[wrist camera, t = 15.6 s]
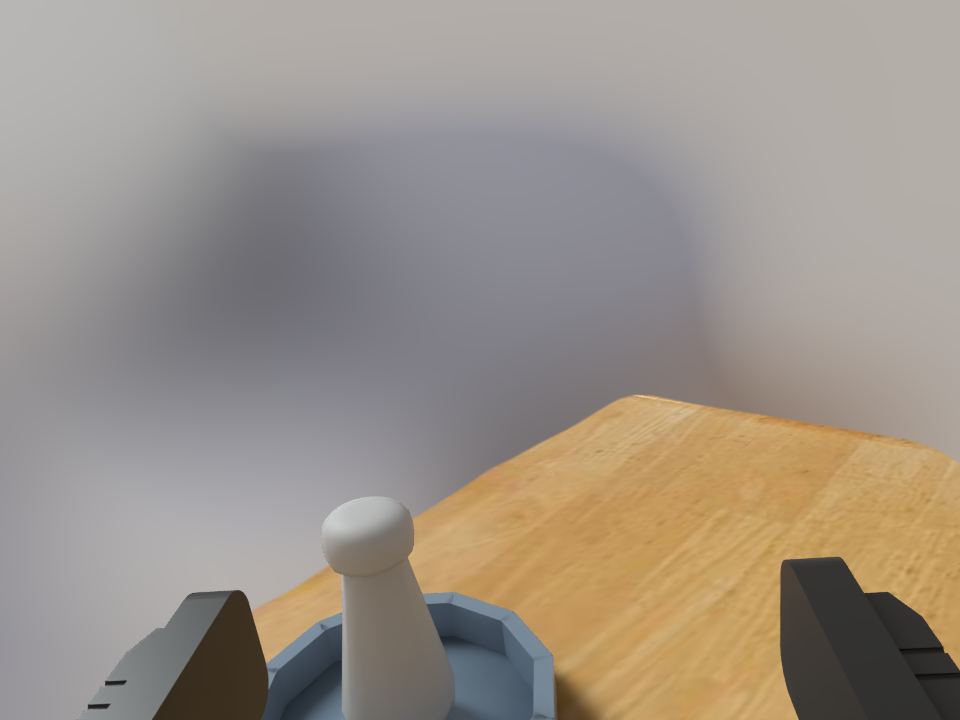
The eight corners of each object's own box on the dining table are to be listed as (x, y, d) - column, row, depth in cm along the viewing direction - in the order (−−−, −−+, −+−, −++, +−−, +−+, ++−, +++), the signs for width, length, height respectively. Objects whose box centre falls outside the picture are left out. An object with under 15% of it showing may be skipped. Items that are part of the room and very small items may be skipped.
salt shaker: (470, 690, 41) (437, 478, 37) (451, 779, 36) (411, 544, 32) (367, 688, 42) (325, 482, 38) (334, 775, 37) (281, 547, 33)
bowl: (555, 631, 46) (551, 586, 45) (563, 890, 31) (557, 833, 30) (303, 643, 48) (293, 600, 47) (195, 894, 33) (177, 840, 32)
